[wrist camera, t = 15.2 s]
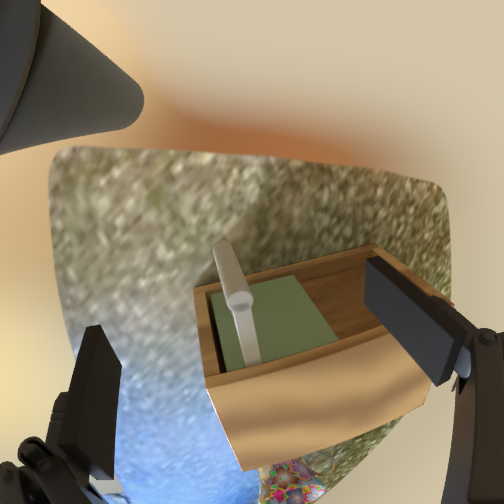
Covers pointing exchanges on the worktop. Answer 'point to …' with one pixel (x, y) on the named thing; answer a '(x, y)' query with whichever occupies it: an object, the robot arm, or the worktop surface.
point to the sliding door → (263, 316)
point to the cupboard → (314, 368)
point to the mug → (291, 482)
